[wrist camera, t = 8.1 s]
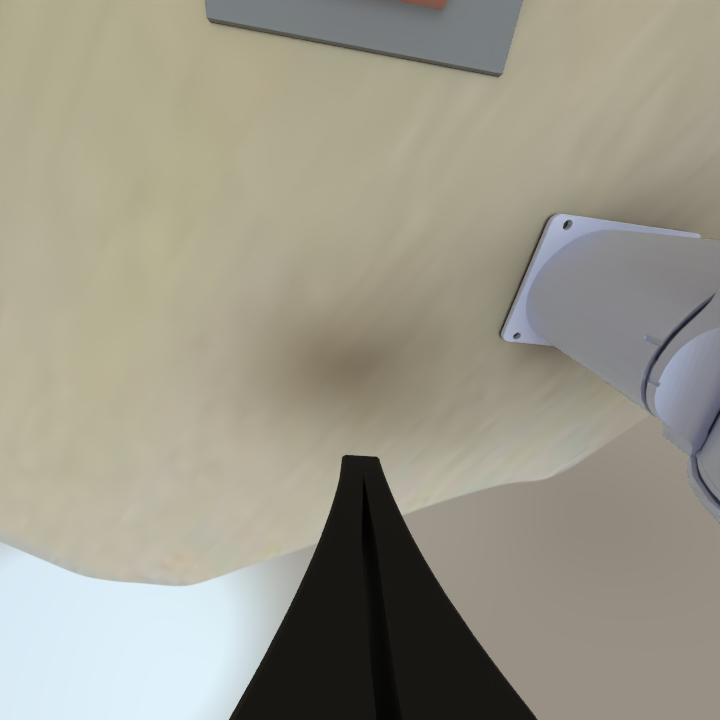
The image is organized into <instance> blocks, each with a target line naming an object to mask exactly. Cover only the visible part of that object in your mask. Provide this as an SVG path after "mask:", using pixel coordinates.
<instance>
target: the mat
mask: <svg viewBox="0 0 720 720" xmlns="http://www.w3.org/2000/svg"><path fill="white" fill-rule="evenodd" d="M522 2H523V0H448V1H447V3H446V5H445V7H444V9H443V10H440V9H435V8H430V7H425V6H421V5H416V4H411V3H406V2H401V1H397V0H205V5H206V14H207V18H208V20H209V21H210V22H214V23H220V24H225V25H230V26H236V27H241V28H246V29H251V30H257V31H262V32H267V33H273V34H278V35H283V36H288V37H294V38H299V39H304V40H309V41H315V42H320V43H325V44H331V45H336V46H341V47H346V48H352V49H357V50H362V51H368V52H373V53H378V54H383V55H389V56H394V57H399V58H404V59H410V60H415V61H420V62H426V63H431V64H436V65H441V66H447V67H452V68H457V69H463V70H468V71H473V72H478V73H484V74H489V75H494V76H501V75H502V74H503V70H504V67H505V63H506V59H507V56H508V52H509V49H510V45H511V41H512V38H513V34H514V30H515V27H516V23H517V20H518V16H519V12H520V9H521V5H522Z"/></svg>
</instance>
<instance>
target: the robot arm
mask: <svg viewBox="0 0 720 720" xmlns="http://www.w3.org/2000/svg"><path fill="white" fill-rule="evenodd" d="M566 221H568V224H567V226H566V228H564V229H563V224H564V223H565V222H566ZM516 333H518V334H517V336H515V337H513V336H514V334H516ZM501 338H502V339H504V340H505V341H508V342H518V343H527V344H537V345H547V346H555V347H556V348H558V349H559V350H561V351H562V352H563V353H565V354H566V355H568V356H569V357H570V358H572V359H573V360H575V361H576V362H578V363H579V364H580V365H582V366H583V367H585V368H586V369H588V370H589V371H590V372H592V373H593V374H595V375H596V376H598V377H599V378H600V379H602V380H603V381H605V382H606V383H608V384H609V385H610V386H612V387H613V388H615V389H616V390H618V391H619V392H620V393H622V394H623V395H625V396H626V397H628V398H629V399H630V400H632V401H633V402H635V403H636V404H637V405H639V406H640V407H642V408H643V409H645V410H646V411H647V412H649V413H650V414H652V415H653V416H655V417H657V418H658V419H659V420H660V421H661V422H662V424H663V428H664V429H663V433H662V435H663V437H665V438H666V439H667V440H669V441H670V442H672V443H673V444H674V445H676V446H677V447H678V448H680V449H681V450H682V451H684V452H685V453H686V454H688V455H689V456H690V458H689V460H688V462H687V476H688V479H689V484H690V486H691V488H692V490H693V492H694V494H695V495H696V497H697V498H698V499H699V501H700V502H701V504H702V505H703V506H704V508H705V509H706V510H707V511H708V512H709V513H710V514H711V515H712V516H713V517H714V518H715V519H716V520H717V521H718V522H719V523H720V240H714V239H704V238H701V236H700V234H698V233H691V232H684V231H677V230H671V229H664V228H657V227H650V226H643V225H637V224H630V223H623V222H616V221H609V220H602V219H596V218H589V217H582V216H575V215H568V214H555V215H553V216H552V217H551V218H550V219H549V221H548V222H547V225H546V227H545V229H544V232H543V234H542V237H541V239H540V241H539V244H538V246H537V248H536V251H535V253H534V256H533V258H532V260H531V263H530V265H529V267H528V270H527V272H526V275H525V277H524V279H523V282H522V284H521V287H520V289H519V291H518V294H517V296H516V298H515V301H514V303H513V306H512V308H511V310H510V313H509V315H508V318H507V320H506V322H505V325H504V327H503V329H502V332H501ZM229 720H537V719H536V717H535V716H534V714H533V713H532V712H531V710H530V709H529V708H528V707H527V705H526V704H525V703H524V701H523V700H522V699H521V698H520V696H519V695H518V694H517V693H516V691H515V690H514V689H513V687H512V686H511V685H510V683H509V682H508V681H507V679H506V678H505V677H504V676H503V674H502V673H501V672H500V670H499V669H498V668H497V666H496V665H495V664H494V662H493V661H492V660H491V658H490V657H489V656H488V654H487V653H486V651H485V650H484V649H483V647H482V646H481V645H480V643H479V642H478V641H477V639H476V638H475V636H474V635H473V634H472V632H471V631H470V629H469V628H468V626H467V625H466V623H465V622H464V620H463V619H462V618H461V616H460V614H459V613H458V611H457V610H456V608H455V607H454V606H453V604H452V603H451V601H450V600H449V599H448V597H447V595H446V594H445V592H444V591H443V589H442V587H441V586H440V584H439V582H438V581H437V579H436V578H435V576H434V574H433V573H432V571H431V569H430V568H429V566H428V564H427V563H426V561H425V560H424V557H423V556H422V554H421V552H420V550H419V548H418V547H417V545H416V543H415V541H414V539H413V538H412V535H411V533H410V531H409V530H408V528H407V526H406V524H405V522H404V520H403V518H402V515H401V513H400V511H399V509H398V507H397V504H396V502H395V500H394V498H393V496H392V493H391V491H390V488H389V486H388V483H387V481H386V478H385V476H384V473H383V470H382V467H381V464H380V461H379V458H378V457H372V456H354V455H345V456H343V457H342V464H341V471H340V479H339V483H338V487H337V491H336V494H335V497H334V501H333V504H332V507H331V510H330V513H329V516H328V519H327V522H326V524H325V527H324V530H323V532H322V535H321V538H320V540H319V543H318V545H317V548H316V550H315V553H314V555H313V557H312V559H311V562H310V564H309V567H308V569H307V571H306V573H305V575H304V577H303V580H302V582H301V584H300V586H299V588H298V590H297V593H296V595H295V597H294V599H293V601H292V603H291V605H290V607H289V609H288V611H287V613H286V615H285V617H284V619H283V621H282V623H281V625H280V627H279V629H278V631H277V633H276V634H275V636H274V638H273V640H272V642H271V644H270V646H269V648H268V650H267V652H266V654H265V656H264V658H263V660H262V661H261V663H260V665H259V667H258V669H257V670H256V672H255V674H254V676H253V678H252V680H251V681H250V683H249V685H248V687H247V688H246V690H245V692H244V694H243V695H242V697H241V699H240V701H239V703H238V705H237V706H236V708H235V710H234V712H233V713H232V715H231V717H230V719H229Z"/></svg>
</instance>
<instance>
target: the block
mask: <svg viewBox="0 0 720 720" xmlns="http://www.w3.org/2000/svg"><path fill="white" fill-rule="evenodd" d="M397 1H401V2H406V3H411V4H416V5H421V6H425V7H430V8H435V9H440V10H443V9H444V7H445V5H446V3H447V1H448V0H397Z"/></svg>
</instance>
